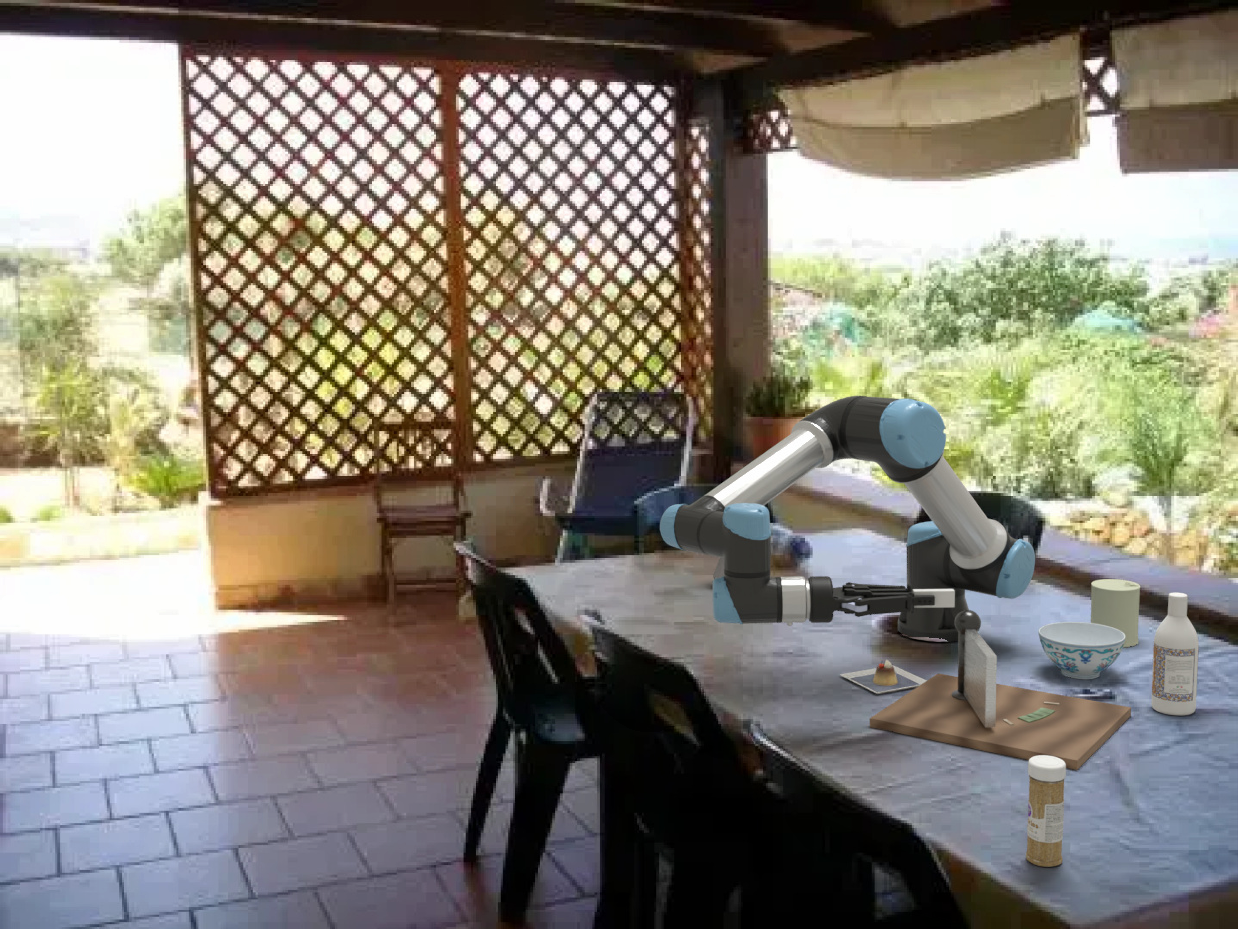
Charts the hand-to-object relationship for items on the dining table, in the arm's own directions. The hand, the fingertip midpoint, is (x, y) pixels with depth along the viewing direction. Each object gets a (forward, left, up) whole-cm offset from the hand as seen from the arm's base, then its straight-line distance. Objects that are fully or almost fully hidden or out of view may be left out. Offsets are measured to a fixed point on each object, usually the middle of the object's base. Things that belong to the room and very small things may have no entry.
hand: (953, 598), depth 214 cm
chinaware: (+9, +39, -22) cm, 46 cm away
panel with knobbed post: (+2, +5, -19) cm, 20 cm away
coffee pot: (-81, +57, -22) cm, 102 cm away
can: (+8, +63, -22) cm, 67 cm away
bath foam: (+28, +28, -22) cm, 45 cm away
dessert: (-19, +16, -23) cm, 34 cm away
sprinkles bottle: (+29, -39, -22) cm, 53 cm away
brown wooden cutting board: (+6, +7, -22) cm, 24 cm away
